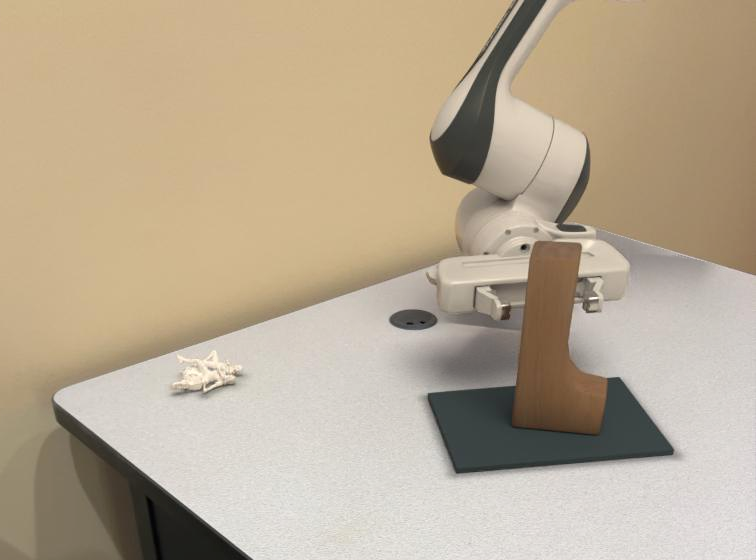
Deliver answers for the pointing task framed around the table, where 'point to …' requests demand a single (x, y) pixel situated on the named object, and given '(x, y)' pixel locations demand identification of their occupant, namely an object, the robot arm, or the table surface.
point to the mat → (539, 431)
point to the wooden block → (554, 349)
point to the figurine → (206, 373)
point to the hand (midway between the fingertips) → (549, 309)
